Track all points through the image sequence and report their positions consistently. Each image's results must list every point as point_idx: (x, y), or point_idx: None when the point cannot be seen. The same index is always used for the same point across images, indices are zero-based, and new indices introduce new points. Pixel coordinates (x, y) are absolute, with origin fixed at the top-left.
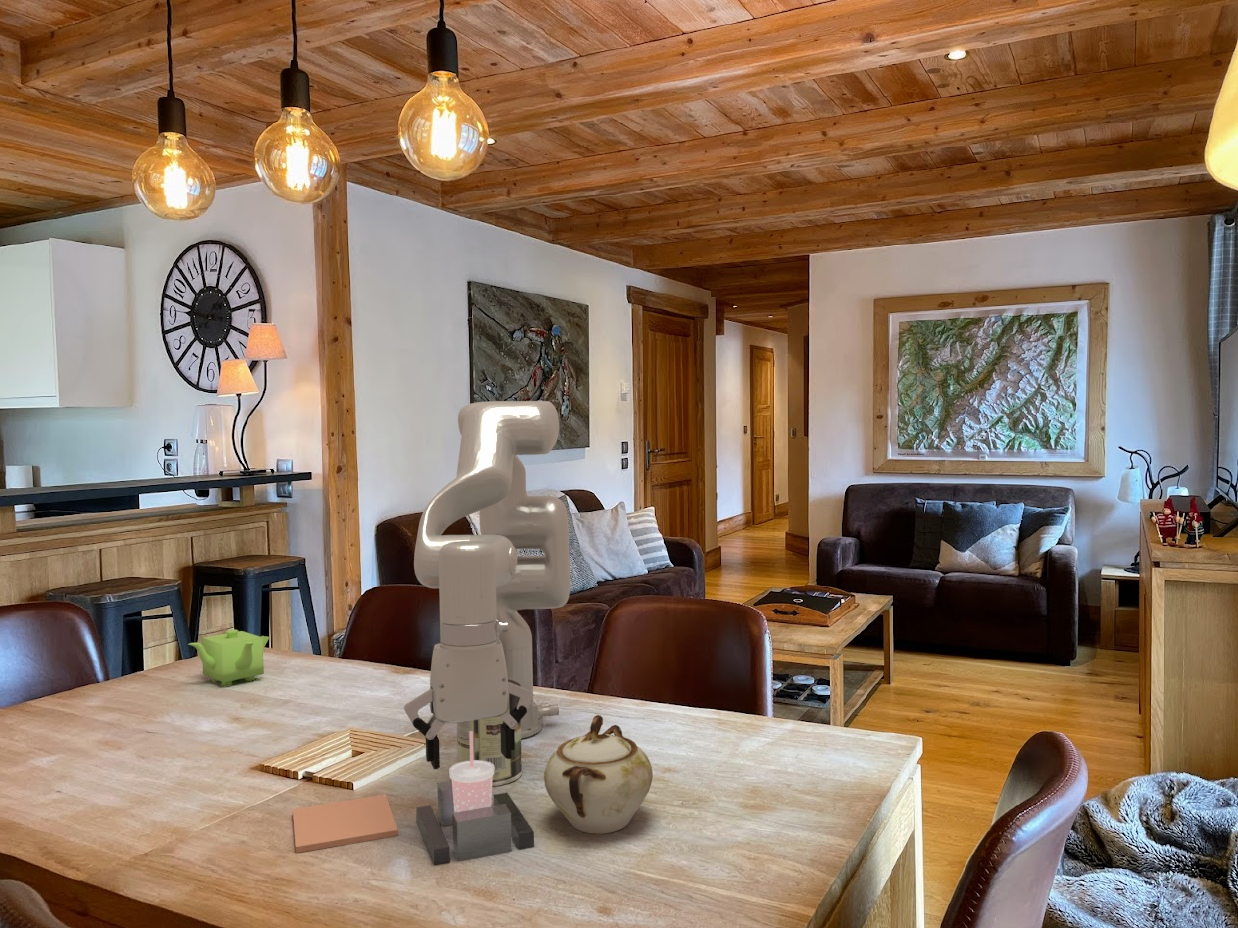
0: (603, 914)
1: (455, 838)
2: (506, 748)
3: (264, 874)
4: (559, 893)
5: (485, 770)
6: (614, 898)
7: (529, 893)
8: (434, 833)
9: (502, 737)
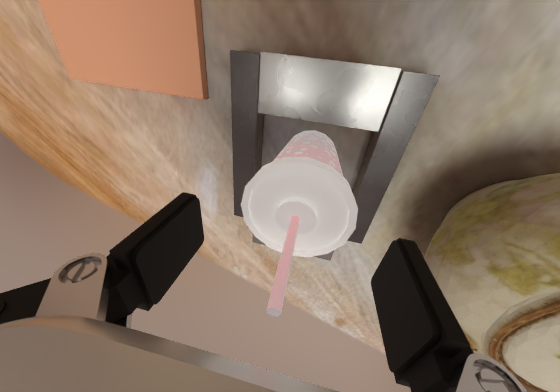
0: (335, 323)
1: None
2: (377, 308)
3: (68, 121)
4: (325, 295)
5: (321, 237)
6: (357, 319)
7: (304, 284)
8: (243, 177)
9: (400, 305)
